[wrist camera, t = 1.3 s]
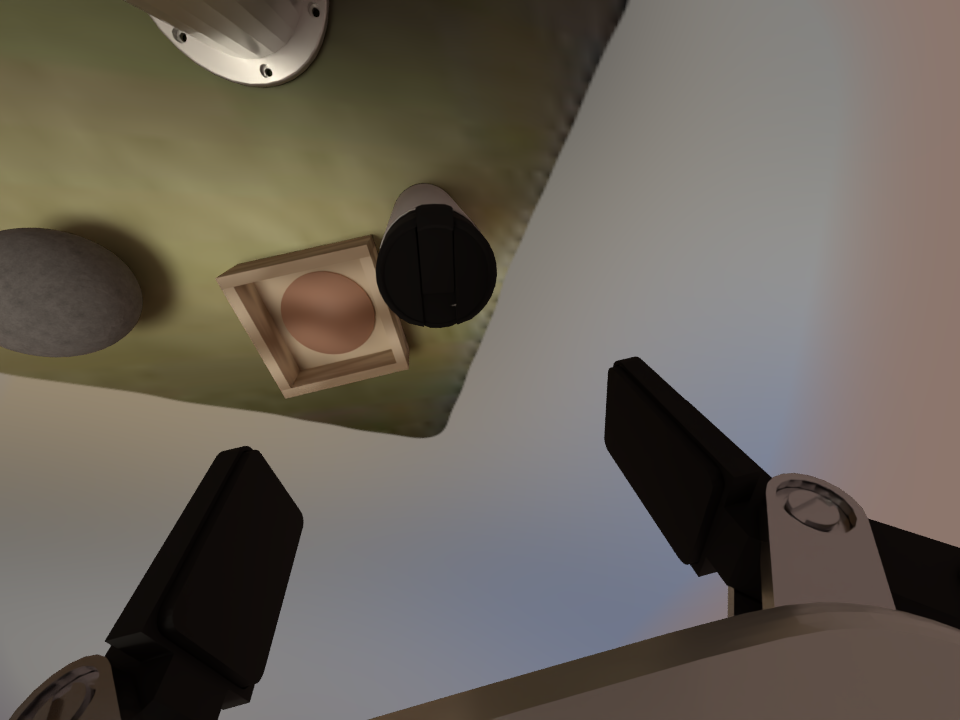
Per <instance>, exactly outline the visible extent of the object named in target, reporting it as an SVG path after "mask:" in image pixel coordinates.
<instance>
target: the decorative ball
mask: <svg viewBox="0 0 960 720" xmlns="http://www.w3.org/2000/svg"><path fill="white" fill-rule="evenodd" d="M142 305H143V297H142V292H141V288H140V285H139V283H138V281H137V279H136V277H135V275H134V274H133V273H132V271H131V270H130V269H129V268H128V266H127V265H126V264H125V263H124V262H123V261H122V260H121V259H119V258H118V257H117V256H116V255H115V254H113V253H112V252H111V251H109V250H108V249H106V248H104V247H102V246H101V245H99V244H97V243H95V242H92V241H90V240H88V239H86V238H83V237H80V236H77V235H74V234H71V233H67V232H63V231H58V230H52V229H43V228H16V229H8V230H2V231H0V346H2V347H4V348H6V349H9V350H13V351H16V352H20V353H24V354H29V355H35V356H44V357H71V356H78V355H84V354H88V353H92V352H96V351H98V350H102V349H104V348H106V347H109V346H111V345H113V344H115V343H116V342H118V341H119V340H121V339H122V338H123V337H125V336H126V335H127V334H128V333H129V332H130V331H131V330H132V329H133V328H134V326H135V325H136V323H137V322H138V320H139V317H140V314H141V312H142Z"/></svg>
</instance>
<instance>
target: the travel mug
mask: <svg viewBox="0 0 960 720" xmlns="http://www.w3.org/2000/svg"><path fill="white" fill-rule="evenodd" d="M496 277H497V267H496V260H495V257H494V253H493V251H492V249H491V247H490V245H489V243H488V241H487V240H486V239H485V238H484V236H483V235H482V234H481V232H480V230H479V229H478V228H477V227H476V225H475V224H474V223H473V222H472V221H471V219H470V218H469V217H468V216H467V215H466V214H465V213H464V212H463V210H462V209H461V208H460V207H459V206H458V205H457V204H456V203H455V201H454V200H453V199H452V198H451V197H450V196H449V195H448V194H447V193H446V192H445V191H444V190H443V189H441V188H439V187H437V186H435V185H432V184H425V183H422V184H416V185H413V186H410V187H409V188H407V189H406V190H404V191H403V192H402V193H401V194H400V196H399V197H398V199H397V200H396V203H395V205H394V208H393V211H392V214H391V217H390V219H389V222H388V225H387V228H386V231H385V233H384V236H383V239H382V242H381V245H380V251H379V254H378V257H377V263H376V282H377V285H378V289H379V292H380V294H381V296H382V298H383V300H384V302H385V303H386V304H387V306H388V307H389V308H390V309H391V311H392V312H394V313H395V314H396V315H397V316H398V317H399V318H401V319H403V320H404V321H406V322H408V323H410V324H414V325H418V326H423V327H424V325H425V326H427V327H430V328H443V327H449V326H452V325H454V324H456V323H457V324H460V323H462V322H465V321H468V320H470V319H472V318H473V317H474V316H476V315H477V314H478V313H479V312H480V311H481V310H482V309H483V308H484V307H485V306H486V304H487V303H488V301H489V299H490V298H491V296H492V293H493V290H494V288H495V284H496Z"/></svg>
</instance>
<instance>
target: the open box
mask: <svg viewBox="0 0 960 720" xmlns="http://www.w3.org/2000/svg"><path fill="white" fill-rule="evenodd" d="M377 257H378V252H377V249H376V246H375V243H374V240H373V237H372V235H368V236H363V237H359V238H354V239H350V240H345V241H341V242H336V243H332V244H327V245H323V246H318V247H313V248H309V249H304V250H300V251H295V252H291V253H286V254H282V255H277V256H273V257H268V258H264V259H259V260H255V261H250V262H246V263H241V264H237V265H236V266H234V267H232V268H231V269H229V270H228V271H226V272H224V273H223V274H221V275H220V276H218V277H217V278H215V279H216V281H217V282H218V284H219V286H220V288H221V289H222V291H223V293H224V294H225V296H226V298H227V299H228V301H229V303H230V305H231V306H232V308H233V310H234V311H235V313H236V315H237V316H238V318H239V320H240V322H241V323H242V325H243V327H244V328H245V330H246V332H247V334H248V335H249V337H250V339H251V340H252V342H253V344H254V345H255V347H256V349H257V351H258V352H259V354H260V356H261V357H262V359H263V361H264V362H265V364H266V366H267V368H268V369H269V371H270V373H271V374H272V376H273V378H274V380H275V381H276V383H277V385H278V386H279V388H280V390H281V391H282V393H283V395H284V397H285V398H290V397H294V396H298V395H302V394H306V393H310V392H315V391H319V390H323V389H327V388H331V387H335V386H339V385H344V384H348V383H352V382H356V381H360V380H364V379H369V378H373V377H377V376H381V375H385V374H389V373H393V372H398V371H402V370H406V369H409V347H408V344H407V341H406V338H405V335H404V332H403V328H402V325H401V322H400V319H399V317H398V316H397V315H396V314H395V313H394V312H392V311H391V309H390V308H389V307H388V306H387V304H386V303H385V302H384V300H383V298H382V296H381V294H380V292H379V289H378V285H377V282H376V263H377Z"/></svg>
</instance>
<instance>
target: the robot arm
mask: <svg viewBox="0 0 960 720" xmlns="http://www.w3.org/2000/svg"><path fill="white" fill-rule="evenodd" d="M124 1H125V2H127V3H129V4H131V5H133V6H135V7H137V8H139V9H140V10H142V11H144V12H146V13H148V14H149V16H150V17H151V18H152V20H153V21H154V22H155V24H156V25H157V26H158V28H159V29H160V30H161V32H162V33H163V34H164V35H165V36H166V37H167V38H168V39H169V40H170V41H171V42H172V43H173V44H174V45H175V46H176V47H177V48H178V49H179V50H180V51H181V52H182V53H184V54H185V55H186V56H187V57H189V58H190V59H191V60H192V61H194V62H195V63H196V64H198V65H199V66H201V67H203V68H204V69H206V70H208V71H209V72H211V73H213V74H214V75H217V76H219V77H221V78H224V79H226V80H228V81H231V82H235V83H238V84H241V85H245V86H252V87H271V86H278V85H281V84H284V83H286V82H289V81H291V80H293V79H295V78H296V77H297V76H299V75H300V74H301V73H303V72H304V71H305V70H306V69H307V68H308V67H309V65H310V64H311V63H312V62H313V60H314V59H315V58H316V56H317V54H318V52H319V50H320V48H321V45H322V43H323V40H324V36H325V33H326V29H327V25H328V13H329V0H124ZM314 10H319V12H320V15H319V17H314V15H313V12H314ZM184 34H186V36H187V40H186V42H184V40H183V35H184ZM269 69H271V71H272V73H273V75H272V76H271V77H268V75H267V70H269ZM604 440H605V444H606V447H607V450H608V451H609V453H610V455H611V456H612V458H613V459H614V460H615V462H616V463H617V465H618V467H619V468H620V470H621V471H622V473H623V474H624V476H625V477H626V479H627V480H628V482H629V483H630V485H631V486H632V488H633V489H634V491H635V492H636V494H637V495H638V497H639V499H640V500H641V502H642V503H643V505H644V506H645V508H646V509H647V510H648V512H649V514H650V515H651V517H652V518H653V520H654V521H655V523H656V524H657V526H658V527H659V529H660V530H661V532H662V533H663V535H664V536H665V538H666V539H667V541H668V543H669V544H670V546H671V547H672V549H673V550H674V552H675V553H676V555H677V556H678V558H679V559H680V560H681V561H682V562H683V563H684V564H687V565H688V564H690V565H691V566H692V568H693V569H694V571H695V572H696V574H697V575H698V577H700V576H703V575H707V574H711V573H714V572H718V574H719V575H720V577H721V578H722V579H723V581H724V582H725V583H726V585H728V618H725V619H722V620H718V621H714V622H710V623H706V624H702V625H699V626H695V627H691V628H687V629H683V630H679V631H676V632H672V633H668V634H665V635H661V636H657V637H654V638H651V639H647V640H643V641H640V642H637V643H633V644H629V645H626V646H622V647H619V648H616V649H612V650H608V651H605V652H601V653H597V654H594V655H590V656H587V657H583V658H580V659H577V660H573V661H569V662H566V663H562V664H559V665H555V666H552V667H549V668H545V669H541V670H538V671H534V672H531V673H528V674H524V675H521V676H517V677H514V678H510V679H507V680H503V681H500V682H496V683H493V684H489V685H486V686H482V687H479V688H476V689H472V690H469V691H465V692H462V693H458V694H455V695H451V696H448V697H444V698H441V699H438V700H434V701H431V702H427V703H424V704H420V705H417V706H413V707H410V708H407V709H403V710H400V711H396V712H393V713H390V714H386V715H383V716H379V717H376V718H373V719H369V720H960V548H958V547H955V546H952V545H949V544H946V543H943V542H940V541H936V540H933V539H930V538H927V537H924V536H921V535H918V534H915V533H912V532H908V531H905V530H902V529H899V528H896V527H893V526H890V525H887V524H883V523H880V522H877V521H874V520H871V519H868V518H867V516H866V514H865V512H864V510H863V508H862V507H861V506H860V505H859V504H858V503H857V502H856V501H855V500H854V499H853V498H852V497H851V496H849V495H848V494H847V493H845V492H844V491H842V490H841V489H840V488H838V487H836V486H834V485H832V484H830V483H828V482H826V481H824V480H821V479H818V478H815V477H812V476H809V475H803V474H796V473H789V474H781V475H778V476H775V477H773V478H772V477H770V476H769V475H768V474H767V473H766V472H765V471H764V470H763V469H762V468H761V467H759V466H758V465H757V464H756V463H755V462H754V461H753V460H752V459H750V458H749V456H747V455H746V454H745V453H744V452H743V451H742V450H741V449H740V448H739V447H738V446H736V445H735V444H734V443H733V442H732V441H731V440H730V439H729V438H728V437H727V436H725V435H724V434H723V433H722V432H721V431H720V430H719V429H718V428H717V427H716V426H715V425H713V424H712V423H711V422H710V421H709V420H708V419H707V418H706V417H705V416H704V415H702V414H701V413H700V412H699V411H698V410H697V409H696V408H695V407H693V406H692V404H690V403H689V402H688V401H687V400H685V399H684V398H683V397H682V396H681V395H680V394H678V393H677V392H676V391H675V390H674V389H673V388H672V387H671V386H670V385H669V384H668V383H667V382H666V381H664V380H663V379H662V378H661V377H660V376H659V375H658V374H657V373H656V372H655V371H654V370H652V369H651V368H650V367H649V366H648V365H647V364H646V363H645V362H644V361H643V360H641V359H640V358H639V357H631V358H627V359H623V360H618V361H616V362H615V363H614V365H613V367H612V368H609V370H608V382H607V401H606V417H605V437H604ZM302 528H303V516H302V513H301V511H300V510H299V508H298V507H297V505H296V504H295V503H294V501H293V499H292V498H291V497H290V495H289V494H288V492H287V491H286V489H285V488H284V486H283V485H282V484H281V482H280V481H279V479H278V478H277V476H276V475H275V473H274V472H273V470H272V469H271V468H270V466H269V465H268V463H267V462H266V460H265V459H264V457H263V456H262V454H261V453H260V452H259V451H258V450H253V449H252V448H250V447H249V446H243V447H239V448H234V449H231V450H226V451H222V452H220V453H219V454H218V455H217V456H216V458H215V460H214V461H213V463H212V465H211V466H210V468H209V470H208V472H207V473H206V475H205V476H204V478H203V480H202V481H201V483H200V485H199V486H198V488H197V490H196V491H195V493H194V495H193V496H192V498H191V499H190V501H189V503H188V504H187V506H186V508H185V509H184V511H183V513H182V514H181V516H180V518H179V519H178V521H177V523H176V524H175V526H174V528H173V530H172V531H171V533H170V534H169V536H168V538H167V539H166V541H165V542H164V544H163V546H162V547H161V549H160V551H159V553H158V554H157V556H156V557H155V559H154V561H153V562H152V564H151V565H150V567H149V569H148V570H147V573H146V574H145V575H144V577H143V579H142V580H141V582H140V584H139V585H138V587H137V589H136V590H135V592H134V594H133V595H132V597H131V599H130V600H129V602H128V603H127V605H126V607H125V608H124V610H123V612H122V613H121V615H120V617H119V619H118V620H117V622H116V623H115V625H114V627H113V628H112V630H111V632H110V633H109V635H108V637H107V638H106V640H105V642H107V643H109V644H110V645H111V647H110V648H109V650H108V652H107V653H106V655H105V657H104V656H101V655H92V656H86V657H83V658H81V659H79V660H77V661H75V662H72V663H70V664H68V665H67V666H65V667H64V668H62V669H61V670H59V671H58V672H56V673H55V674H53V675H52V676H51V677H49V679H47V680H46V681H45V682H44V683H42V684H41V685H40V686H39V687H38V688H37V689H36V690H34V691H33V692H32V693H31V695H29V697H28V698H27V699H26V700H25V701H24V702H23V703H22V704H21V705H20V706H19V707H18V708H17V710H16V711H15V712H14V713H13V715H12V716H11V718H10V719H9V720H218V717H219V714H220V711H221V709H223V710H224V709H228V708H232V707H235V706H238V705H242V704H246V703H249V702H250V700H251V696H252V692H253V689H254V685H255V684H256V683H258V682H259V681H260V679H261V677H262V675H263V673H264V670H265V666H266V663H267V659H268V655H269V651H270V647H271V644H272V640H273V636H274V633H275V629H276V625H277V622H278V618H279V614H280V610H281V607H282V603H283V599H284V596H285V592H286V588H287V584H288V581H289V576H290V573H291V569H292V566H293V562H294V558H295V554H296V551H297V547H298V543H299V539H300V536H301V532H302Z"/></svg>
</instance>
